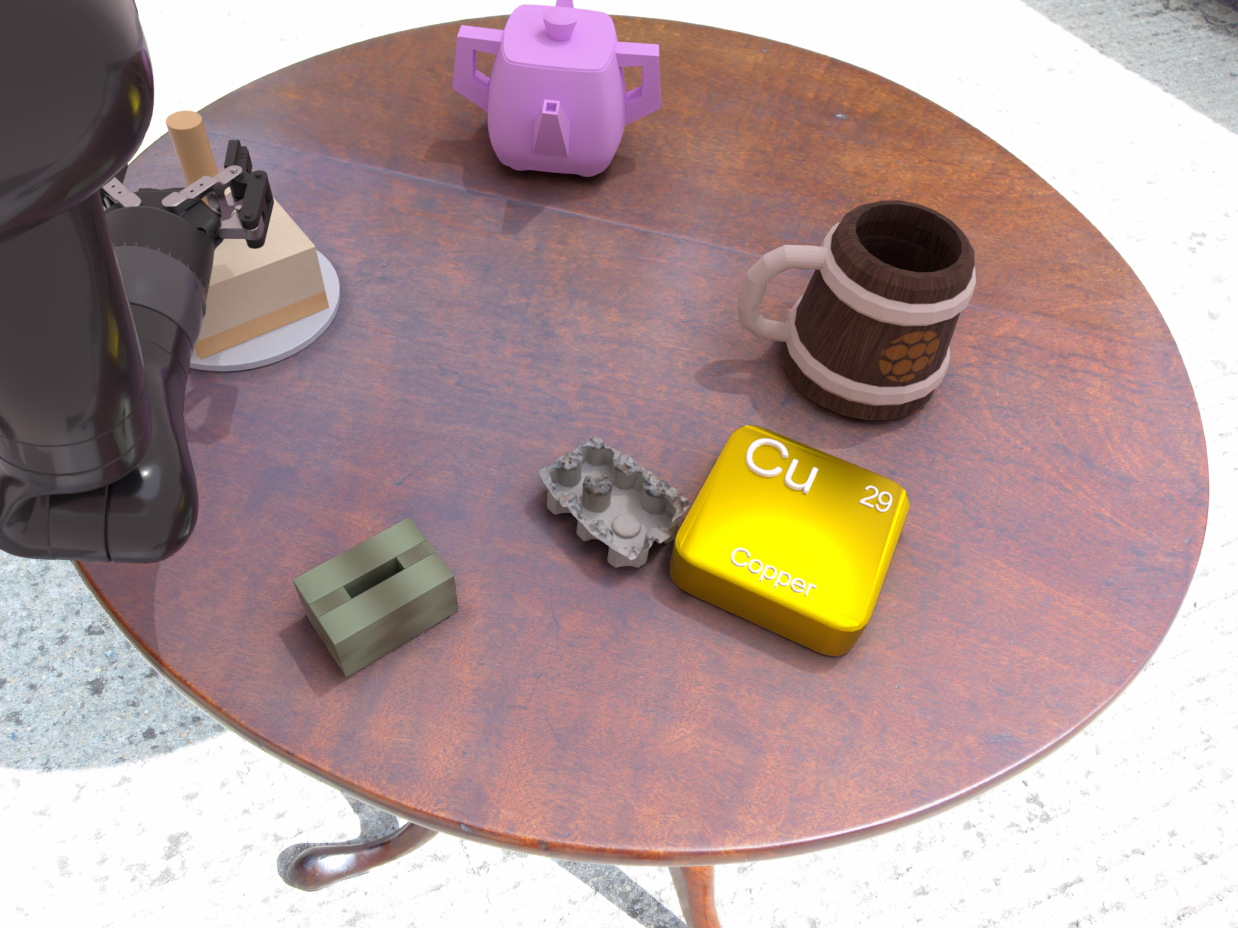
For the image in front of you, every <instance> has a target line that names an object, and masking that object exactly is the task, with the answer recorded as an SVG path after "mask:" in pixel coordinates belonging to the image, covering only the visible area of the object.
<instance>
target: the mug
mask: <svg viewBox="0 0 1238 928" xmlns="http://www.w3.org/2000/svg"><path fill="white" fill-rule="evenodd" d="M975 265H976V260H975V250H974V247H973V246H972V244H971V242H970V240H969V238H968V236H967V234H965V233H964V232H963V230H962V229H961V228H960V227H958V225H956V223H955V222H953V220H952V219H950V218H949V217H947V216H946V215H944V214H942V213H940V212H939V211H937V210H935V209H933V208H931V207H928V206H925V205H922V204H920V203H916V202H911V201H906V200H905V201H904V200H899V199H897V200H895V199H894V200H893V199H887V200H883V199H881V200H878V201H873V202H870V203H869V202H868V203H864V204H859V205H858V206H856V207H854V208H853V209H851V210H850V211H848V212H846V213H845V214H844V216H843V217H842V219H841V220H840V221H839V222H837V223H836V224H833V226H832V227H831V229H830V230H829V231H828V232H827V234H826V236H825V237H824V239H823V240H822V242H821V243H820V245H819V246H818V245H805V244H802V245H801V244H783V245H781V246H779V247H777V248H774V249H773V250H770V251H769V252H765V253H764V254H763V255H762V256H761V257H760V258H759V259H758V260H757V261H756V262H755V263H754V264H753V265H752V266H751V267H750V268H749V269H748V270H747V271H746V273H745V277H744V280H743V283H742V286H741V289H740V293H739V296H738V298H737V299H738V300H737V313H738V321H739V324H740V325H741V326H742V327H744V328H745V329H746V330H748V331H749V332H750V333H751V334H753V335H754V336H755V337H756V338H759V339H762V340H763V339H764V340H767V341H773V342H781V348H780V357H781V360H782V363H783V366H784V369H785V373H786V374H787V375H788V377H789V378H790V379H791V381H792V382H793V383H794V384H795V386H796V387H797V389H798V390H799V391H801V392H802V393H804V395H806V396H807V397H808V398H809V399H811V400H812V401H813V402H815V403H816V404H818V405H819V406H820V407H823V408H825V409H827V410H830V411H831V412H834V413H835V414H839V415H840V416H843V417H848V418H849V417H850V418H853V419H859V420H863V421H888V420H895V419H896V420H897V419H899V418H902V417H905V416H908V415H911V414H915V413H916V412H917V411H918V410H920V409H921V408H922V407H923V406H925V405H926V404H927V403H928V402H929V401H930V400H931V398H932V396H933V394H934V392H935V390H936V388H938V387H939V386H940V385H941V384H942V382H943V380H944V377H945V375H946V373H947V371H948V370H949V366H950V361H951V350H950V349H951V348H950V347H951V346H950V345H951V341H952V338H953V335H954V333H955V331H956V327H957V325H958V321H959V318H960V315H961V312H962V311H964V310H965V309H966V308H967V307H968V305H969V303H970V301H971V299H972V297H973V295H974V292H975V288H976V284H977V274H976V266H975ZM790 269H799V270H810V271H811V270H813V273H812V276H811V278H810V280H809V282H808V283H807V286H806V289H805V291H804V292H803V294H801V295H800V296H799V297H798V299H797V300H796V302H795V303H794V304H793V306H792V308H791V309H790V311H789V312H788V314H787V316H786V317H785V321H781V320H779V321H778V320H774V319H769V318H765V317H764V316H763V315H762V314H761V313H760V312H761V304H762V300H763V298H764V295H765V292H766V289H767V286H768V283H770V281H772V280H773V279H774V278H775V277H776V276H777V275H778V274H780V273H783V272H785V271H787V270H790Z"/></svg>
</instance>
